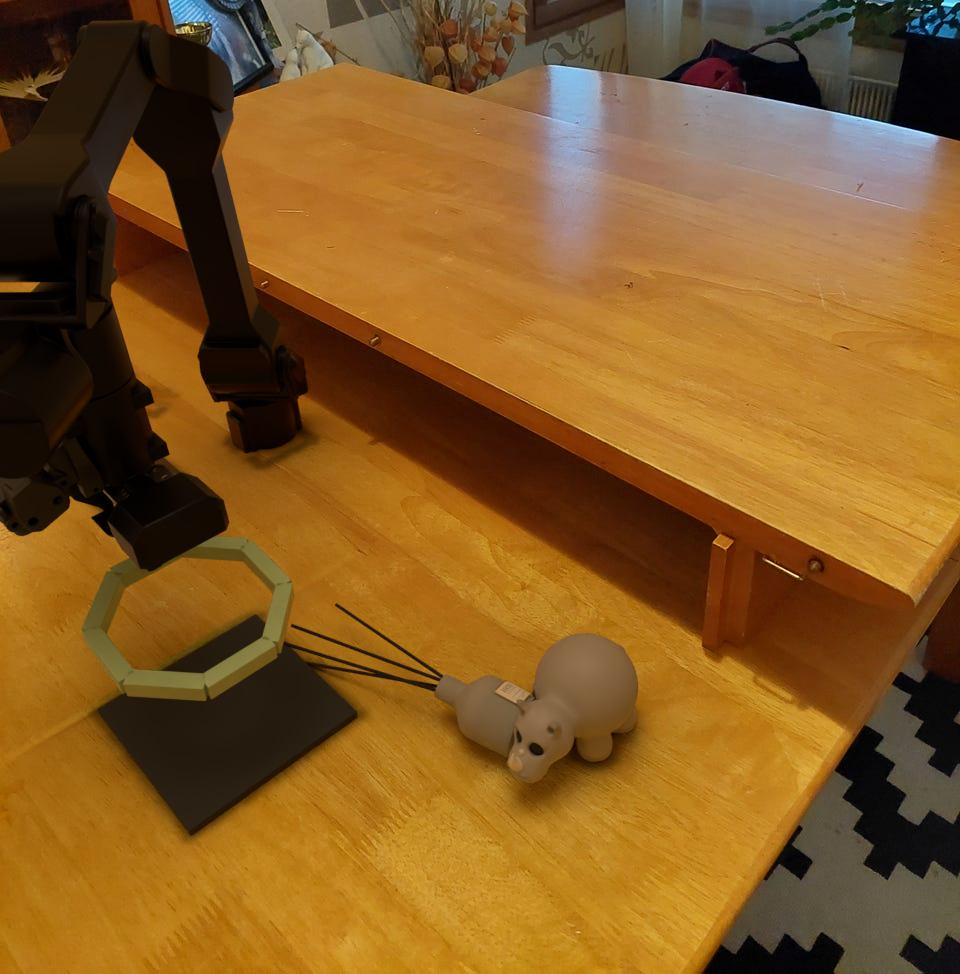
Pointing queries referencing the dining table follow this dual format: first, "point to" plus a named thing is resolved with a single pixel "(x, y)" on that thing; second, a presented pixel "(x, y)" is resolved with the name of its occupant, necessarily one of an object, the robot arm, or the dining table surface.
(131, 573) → the ring
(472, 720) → the reed diffuser
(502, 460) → the dining table surface
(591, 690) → the round bodied animal figurine
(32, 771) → the dining table surface
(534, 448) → the dining table surface
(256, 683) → the mat
